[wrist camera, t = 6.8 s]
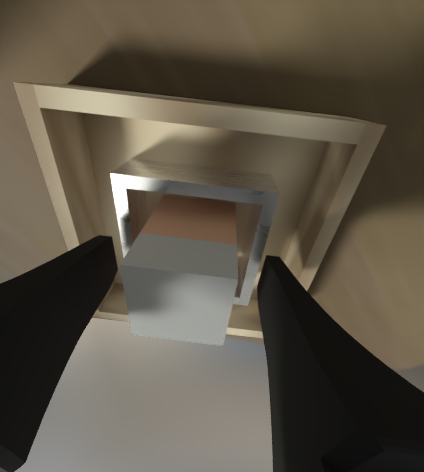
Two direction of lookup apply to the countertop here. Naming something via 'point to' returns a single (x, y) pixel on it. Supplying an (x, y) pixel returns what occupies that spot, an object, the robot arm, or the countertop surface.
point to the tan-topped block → (183, 271)
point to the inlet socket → (198, 185)
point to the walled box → (199, 154)
